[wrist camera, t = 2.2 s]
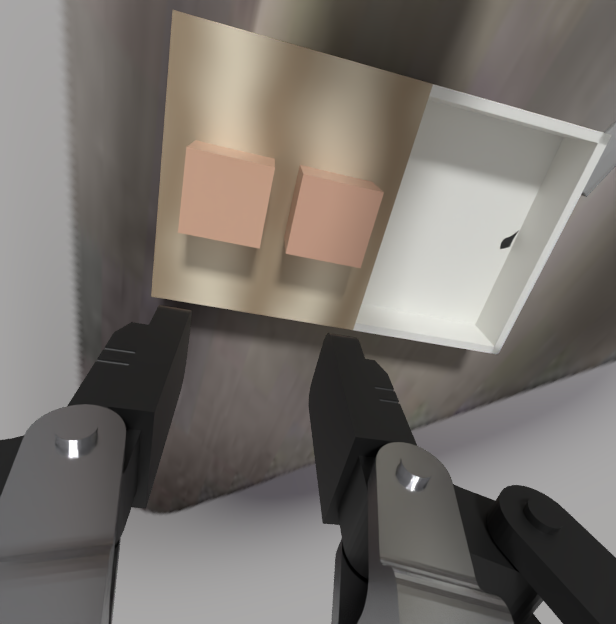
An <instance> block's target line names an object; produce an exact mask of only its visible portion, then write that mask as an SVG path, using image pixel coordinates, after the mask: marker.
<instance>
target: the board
mask: <svg viewBox="0 0 616 624" xmlns="http://www.w3.org/2000/svg"><path fill="white" fill-rule="evenodd" d="M432 86H433V84H431V83H427V82H424V81H420V80H417V79H413V78H410V77H406V76H403V75H399V74H396V73H392V72H389V71H385V70H382V69H378V68H375V67H371V66H368V65H364V64H361V63H357V62H354V61H350V60H347V59H343V58H340V57H336V56H333V55H329V54H326V53H322V52H319V51H315V50H312V49H308V48H305V47H301V46H298V45H294V44H291V43H287V42H284V41H280V40H277V39H273V38H270V37H266V36H262V35H259V34H255V33H252V32H248V31H245V30H241V29H238V28H234V27H231V26H227V25H224V24H220V23H217V22H213V21H210V20H206V19H203V18H199V17H196V16H192V15H189V14H185V13H182V12H178V11H175V10H173V13H172V26H171V40H170V53H169V67H168V80H167V93H166V107H165V120H164V134H163V147H162V160H161V174H160V187H159V201H158V214H157V228H156V241H155V254H154V268H153V281H152V295H151V296H152V297H158V298H164V299H170V300H176V301H182V302H188V303H194V304H200V305H206V306H212V307H218V308H224V309H230V310H235V311H241V312H247V313H253V314H259V315H265V316H271V317H277V318H283V319H289V320H295V321H301V322H307V323H313V324H319V325H325V326H331V327H337V328H343V329H349V330H353V329H354V326H355V323H356V319H357V316H358V313H359V310H360V307H361V304H362V301H363V298H364V295H365V292H366V289H367V286H368V283H369V280H370V276H371V273H372V270H373V267H374V264H375V261H376V258H377V255H378V252H379V249H380V246H381V243H382V240H383V236H384V233H385V230H386V227H387V224H388V221H389V218H390V215H391V212H392V209H393V206H394V203H395V200H396V196H397V193H398V190H399V187H400V184H401V181H402V178H403V175H404V172H405V169H406V166H407V163H408V160H409V157H410V153H411V150H412V147H413V144H414V141H415V138H416V135H417V132H418V129H419V126H420V123H421V120H422V117H423V113H424V110H425V107H426V104H427V101H428V98H429V95H430V92H431V89H432ZM195 140H197V141H201V142H205V143H209V144H214V145H218V146H222V147H227V148H231V149H235V150H239V151H244V152H248V153H252V154H256V155H261V156H265V157H269V158H273V159H275V171H274V176H273V182H272V187H271V192H270V197H269V202H268V208H267V213H266V218H265V223H264V229H263V234H262V239H261V244H260V249H259V248H254V247H249V246H244V245H238V244H233V243H228V242H223V241H218V240H213V239H208V238H203V237H197V236H192V235H187V234H182V233H178V227H179V217H180V207H181V197H182V186H183V176H184V166H185V156H186V147H187V146H188V145H190V144H191V143H193V142H194V141H195ZM300 165H303V166H308V167H312V168H316V169H320V170H325V171H329V172H333V173H337V174H342V175H346V176H350V177H355V178H359V179H363V180H367V181H372V182H373V183H374V184H375V185H376V186H378V187H379V188H380V189H381V190H382V191H383V192H384V194H383V198H382V201H381V204H380V207H379V210H378V214H377V217H376V220H375V223H374V227H373V230H372V233H371V236H370V239H369V243H368V246H367V249H366V252H365V255H364V259H363V262H362V265H361V268H356V267H351V266H346V265H341V264H336V263H331V262H325V261H320V260H315V259H310V258H305V257H300V256H295V255H290V254H286V252H285V241H284V236H285V231H286V226H287V222H288V217H289V213H290V208H291V203H292V199H293V194H294V189H295V185H296V180H297V175H298V171H299V166H300Z"/></svg>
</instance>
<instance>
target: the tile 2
mask: <svg viewBox="0 0 616 624" xmlns="http://www.w3.org/2000/svg"><path fill="white" fill-rule="evenodd" d="M383 194H384V192H383V191H382V190H381V189H380V188H379V187H378V186H376V185H375V184H374V183H373V182H372V181H367V180H363V179H359V178H355V177H350V176H346V175H342V174H337V173H333V172H329V171H325V170H320V169H316V168H312V167H308V166H303V165H300V166H299V171H298V175H297V180H296V185H295V189H294V194H293V199H292V203H291V208H290V213H289V217H288V222H287V226H286V231H285V236H284V241H285V252H286V254H290V255H295V256H300V257H305V258H310V259H315V260H320V261H325V262H331V263H336V264H341V265H346V266H351V267H356V268H361V265H362V262H363V259H364V255H365V252H366V249H367V246H368V243H369V239H370V236H371V233H372V230H373V227H374V223H375V220H376V217H377V214H378V210H379V207H380V204H381V201H382V198H383Z"/></svg>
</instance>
